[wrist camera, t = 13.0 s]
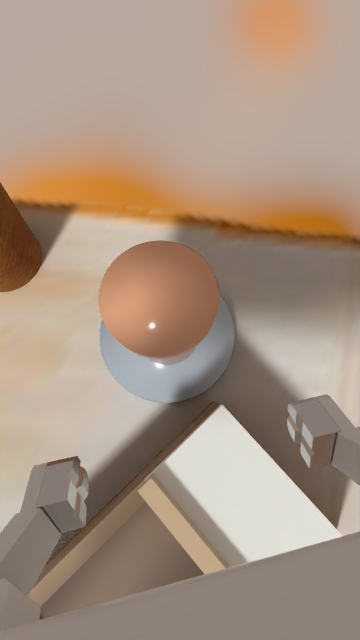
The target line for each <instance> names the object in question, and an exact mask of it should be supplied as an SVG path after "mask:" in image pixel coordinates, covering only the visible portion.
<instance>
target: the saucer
mask: <svg viewBox="0 0 360 640" xmlns="http://www.w3.org/2000/svg"><path fill="white" fill-rule="evenodd" d="M234 340H235V332H234V324H233V319H232V316H231V313H230V310H229V308H228V306H227V304H226V302H225V301H224V299H223V298H222V296H221V295H220V294H219V307H218V312H217V315H216V318H215V320H214V322H213V325H212V327H211V329H210V331H209V332H208V334H207V336H206V337H205V338H204V339H203V341H202V342H201V343H200V344H199V345H198V346H197V347H196V348H195V350H194V352H193V353H192V354H191V355H190V356H189V357H188V358H187V359H185V360H184V361H182V362H180V363H177V364H173V365H161V364H157V363H155V362H153V361H151V360H149V359H148V358H145V357H142V356H139V355H137V354H135V353H133V352H131V351H130V350H128V349H127V348H126V347H124V346H123V345H122V344H121V343H119V342H118V341H117V340H116V339H115V338H114V337H113V336H112V334H111V333H110V332H109V330H108V329H107V327H106V326H105V324H104V321H103V319H102V323H101V329H100V345H101V351H102V355H103V358H104V361H105V363H106V365H107V367H108V369H109V371H110V373H111V374H112V375H113V377H114V378H115V379H116V380H117V381H118V382H119V383H120V384H121V385H122V386H123V387H124V388H125V389H127V390H128V391H129V392H131V393H133V394H134V395H136V396H138V397H141V398H143V399H146V400H150V401H154V402H162V403H172V402H179V401H184V400H187V399H190V398H193V397H195V396H197V395H199V394H201V393H203V392H204V391H206V390H207V389H208V388H210V387H211V386H212V385H213V384H214V383H215V382H216V381H217V380H218V379H219V378H220V377H221V375H222V374H223V372H224V371H225V369H226V367H227V366H228V364H229V362H230V359H231V356H232V353H233V348H234Z"/></svg>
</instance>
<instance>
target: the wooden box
mask: <svg viewBox="0 0 360 640" xmlns="http://www.w3.org/2000/svg"><path fill="white" fill-rule="evenodd" d="M219 405H220V404H218V403H215V402H212V403H211V404H210V405H209V406H208V407H207V408H206V409H205V410H204V411H203V412H202V413H201V414H200V415H199V416H198V417H197V418H196V419H194V420H193V421H192V422H191V423H190V424H189V425H188V426H187V427H186V428H185V429H184V430H183V431H182V432H181V433H180V434H179V435H178V436H177V437H176V438H175V439H174V440H173V441H172V442H171V443H170V444H169V445H168V446H167V447H166V448H165V449H164V450H163V451H162V452H161V453H160V454H159V455H158V456H157V457H155V458H154V459H153V460H152V461H151V462H150V463H149V464H148V465H147V466H146V467H145V468H144V469H143V470H142V471H141V472H140V473H139V474H138V475H137V476H136V477H135V478H134V479H133V480H132V481H131V482H130V483H129V484H128V485H127V486H126V487H125V488H124V489H123V490H122V491H121V492H120V493H119V494H117V495H116V496H115V497H114V498H113V499H112V500H111V501H110V502H109V503H108V504H107V505H106V506H105V507H104V508H103V509H102V510H101V511H100V512H99V513H98V514H97V515H96V516H95V517H94V518H93V519H92V520H91V521H90V522H89V523H88V524H87V525H86V526H85V527H84V528H83V529H82V530H81V531H80V532H78V533H77V534H76V535H75V536H74V537H73V538H72V539H71V540H70V541H69V542H68V543H67V544H66V545H65V546H64V547H63V548H62V549H61V550H60V551H59V552H58V553H57V554H56V555H55V556H54V557H53V558H52V559H51V560H50V561H49V562H48V563H47V564H46V565H45V567H44V568H43V570H42V572H41V574H40V576H39V577H38V579H37V581H36V583H35V585H34V587H33V588H32V590H31V592H30V594H29V596H28V597H29V598H30V599H31V600H32V601H34V602H35V603H36V604H37V605H38V606H39V607H40V609H41V612H40V619H39V620H41V619H44V618H48V617H51V616H55V615H59V614H62V613H66V612H70V611H73V610H77V609H80V608H84V607H88V606H91V605H95V604H99V603H102V602H106V601H110V600H113V599H117V598H120V597H124V596H128V595H131V594H135V593H139V592H142V591H146V590H149V589H153V588H157V587H160V586H164V585H168V584H171V583H175V582H179V581H182V580H186V579H189V578H193V577H197V576H200V575H204V573H203V572H202V571H201V569H200V568H199V567H198V566H197V564H196V563H195V562H194V561H193V559H192V558H191V557H190V556H189V554H188V553H187V552H186V551H185V549H184V548H183V547H182V546H181V545H180V543H179V542H178V541H177V540H176V538H175V537H174V536H173V535H172V533H171V532H170V531H169V530H168V528H167V527H166V526H165V525H164V523H163V522H162V521H161V520H160V518H159V517H158V516H157V515H156V514H155V512H154V511H153V510H152V509H151V507H150V506H149V505H148V504H147V502H146V501H145V500H144V499H143V497H142V496H141V495H140V494H139V492H138V489H139V487H140V485H141V484H142V483H143V482H144V480H145V478H146V477H147V476H148V475H149V474H150V473H151V472H152V471H153V470H154V469H155V468H156V467H157V466H158V465H159V464H160V463H161V462H162V461H163V460H164V459H165V458H166V457H167V456H168V455H170V454H171V453H172V452H173V451H174V450H175V449H176V448H177V447H178V446H179V445H180V444H181V443H182V442H183V441H184V440H185V439H186V438H187V437H188V436H189V435H190V434H191V433H192V432H193V431H194V430H195V429H196V428H197V427H198V426H199V425H200V424H201V423H202V422H203V421H204V420H205V419H206V418H207V417H208V416H209V415H210V414H211V413H212V412H213V411H214V410H215V409H216V408H217V407H218V406H219Z"/></svg>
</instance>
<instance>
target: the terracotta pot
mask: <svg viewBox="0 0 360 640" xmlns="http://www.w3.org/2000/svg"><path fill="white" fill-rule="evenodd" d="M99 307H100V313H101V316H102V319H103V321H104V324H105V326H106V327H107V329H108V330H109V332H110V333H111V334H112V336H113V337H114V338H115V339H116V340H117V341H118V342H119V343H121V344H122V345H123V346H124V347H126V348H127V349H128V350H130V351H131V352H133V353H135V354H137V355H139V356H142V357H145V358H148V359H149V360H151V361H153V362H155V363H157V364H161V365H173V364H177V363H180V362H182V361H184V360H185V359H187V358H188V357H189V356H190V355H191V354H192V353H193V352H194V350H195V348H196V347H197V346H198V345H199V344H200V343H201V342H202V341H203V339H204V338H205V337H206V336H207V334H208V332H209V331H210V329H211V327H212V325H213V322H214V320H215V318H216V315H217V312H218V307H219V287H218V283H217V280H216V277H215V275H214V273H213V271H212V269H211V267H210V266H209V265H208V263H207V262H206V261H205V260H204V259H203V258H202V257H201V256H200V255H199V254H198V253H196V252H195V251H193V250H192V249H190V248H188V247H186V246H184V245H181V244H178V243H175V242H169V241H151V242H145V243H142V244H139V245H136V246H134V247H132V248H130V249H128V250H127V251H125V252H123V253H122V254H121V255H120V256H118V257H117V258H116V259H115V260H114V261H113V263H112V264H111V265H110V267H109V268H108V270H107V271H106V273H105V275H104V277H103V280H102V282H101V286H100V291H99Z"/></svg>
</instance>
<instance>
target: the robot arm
mask: <svg viewBox="0 0 360 640" xmlns="http://www.w3.org/2000/svg"><path fill="white" fill-rule="evenodd" d="M288 412H289V414H290V415H289V416H288V418H287V426H288V430H289V433H290V435H291V437H292V439H293V441H294V442H295V443H296V444H298V445H299V446H301V448H300V453H301V455H302V457H303V458H304V460H305V462H306V464H307V465H308V467H309V469H310V468H314V467H319V466H323V465H328V464H332V466H334V467H335V468H336V469H338V470H339V471H341V472H342V473H343V474H345V475H346V476H347V477H349V478H350V479H352V480H353V481H354V482H356V483H357V484H358V485H360V427H357V428H355V426H354V425H353V424H352V423H351V422H350V420H349V419H348V418H347V417H346V415H345V414H344V413H343V412H342V411H341V409H340V408H339V407H338V406H337V404H336V403H335V402H334V401H333V400H332V398H331V397H330V396H329V395H327V394H326V395H322V396H318V397H314V398H313V397H312V398H309V399H305V400H301V401H297V402H293V403H289V405H288ZM88 492H89V482H88V476H87V472H86V470H85V468H83V467H80V460H79V458H78V456H75V457H70V458H66V459H61V460H57V461H52V462H48V463H43V464H39V465H35V466H34V467H33V469H32V471H31V474H30V478H29V481H28V485H27V489H26V493H25V496H24V500H23V504H22V507H21V511H20V513H17V514H15V516H14V517H13V518H12V519H11V521H10V522H9V523H8V524H7V526H6V527H5V528H4V529H3V531H2V532H1V533H0V640H360V532H357V533H353V534H350V535H346V536H342V537H339V538H335V539H331V540H328V541H324V542H321V543H317V544H313V545H310V546H306V547H302V548H299V549H295V550H291V551H288V552H284V553H280V554H277V555H273V556H270V557H266V558H262V559H259V560H255V561H251V562H248V563H244V564H240V565H237V566H233V567H230V568H226V569H222V570H219V571H215V572H211V573H208V574H204V575H200V576H197V577H193V578H189V579H186V580H182V581H179V582H175V583H171V584H168V585H164V586H160V587H157V588H153V589H149V590H146V591H142V592H139V593H135V594H131V595H128V596H124V597H120V598H117V599H113V600H110V601H106V602H102V603H99V604H95V605H91V606H88V607H84V608H80V609H77V610H73V611H70V612H66V613H62V614H59V615H55V616H51V617H48V618H44V619H41V620H39V619H40V612H41V609H40V607H39V606H38V605H37V604H36V603H35V602H34V601H32V600H31V599H30V598H29V597H28V596H29V594H30V592H31V590H32V588H33V587H34V585H35V583H36V581H37V579H38V577H39V576H40V574H41V572H42V570H43V568H44V567H45V565H46V563H47V561H48V559H49V557H50V556H51V554H52V552H53V550H54V548H55V546H56V545H57V543H58V541H59V539H60V537H61V536H62V535H61V534H62V533H65V532H69V531H72V530H76V529H79V528H83V527H85V525H86V514H87V506H86V504H85V503H84V500H85V499H86V497H87V496H88Z"/></svg>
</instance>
